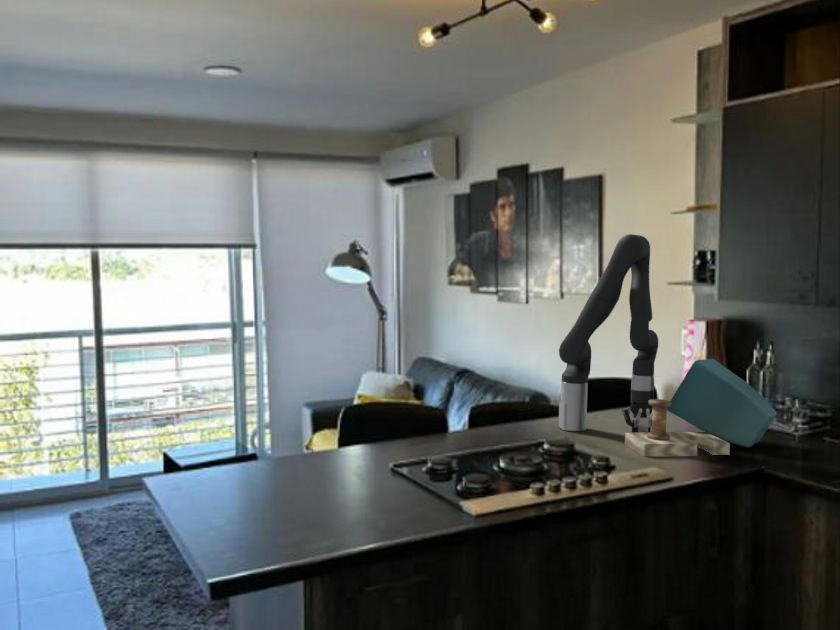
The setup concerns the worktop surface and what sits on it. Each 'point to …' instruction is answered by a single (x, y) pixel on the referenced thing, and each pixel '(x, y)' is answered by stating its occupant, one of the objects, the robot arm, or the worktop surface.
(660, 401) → the bobbin
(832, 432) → the worktop surface
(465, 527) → the worktop surface
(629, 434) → the notched board
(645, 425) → the tab peg
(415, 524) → the worktop surface
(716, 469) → the worktop surface
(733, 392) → the flower pot
